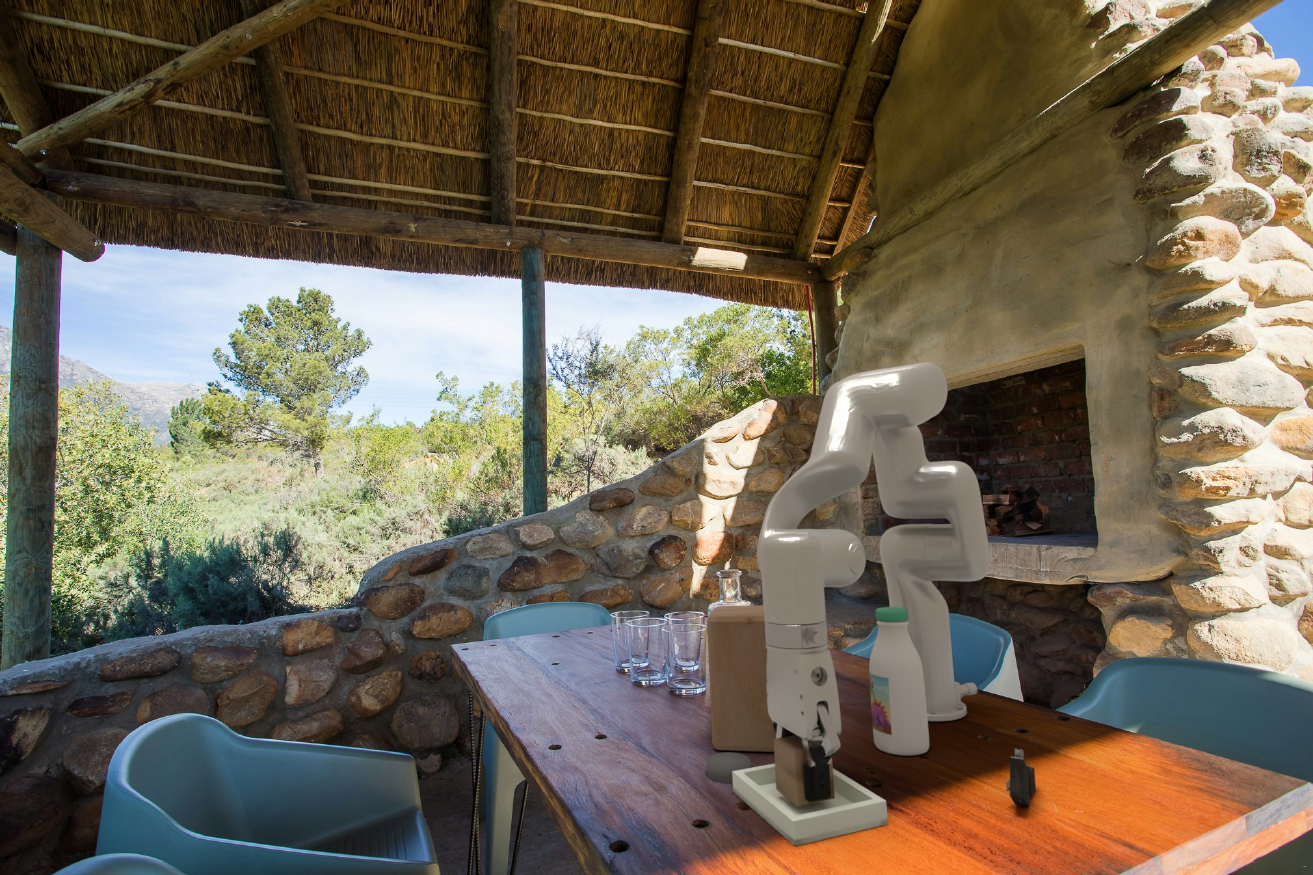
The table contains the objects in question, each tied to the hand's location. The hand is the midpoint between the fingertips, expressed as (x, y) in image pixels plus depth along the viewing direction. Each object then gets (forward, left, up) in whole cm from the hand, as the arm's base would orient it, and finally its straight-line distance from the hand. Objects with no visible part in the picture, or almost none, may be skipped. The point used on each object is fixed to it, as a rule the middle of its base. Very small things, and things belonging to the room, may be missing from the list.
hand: (804, 787), depth 81 cm
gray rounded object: (+4, -13, -2) cm, 14 cm away
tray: (0, 0, -2) cm, 2 cm away
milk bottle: (-23, -11, -2) cm, 26 cm away
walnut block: (0, 0, -1) cm, 1 cm away
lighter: (-24, +9, -2) cm, 26 cm away
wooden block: (-4, -23, -2) cm, 23 cm away
